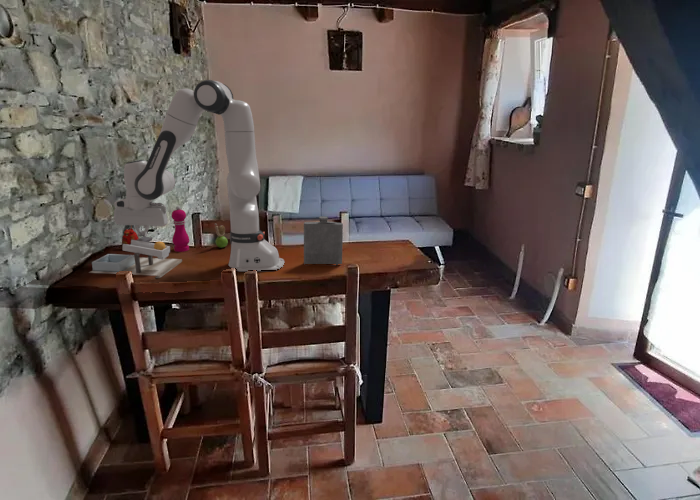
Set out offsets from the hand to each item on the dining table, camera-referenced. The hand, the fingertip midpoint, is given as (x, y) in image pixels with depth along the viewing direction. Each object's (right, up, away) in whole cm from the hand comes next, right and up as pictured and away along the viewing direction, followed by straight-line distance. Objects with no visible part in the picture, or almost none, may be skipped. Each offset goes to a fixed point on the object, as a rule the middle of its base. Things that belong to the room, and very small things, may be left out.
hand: (143, 236), depth 179 cm
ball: (+11, -4, -10) cm, 15 cm away
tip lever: (+5, -6, -4) cm, 9 cm away
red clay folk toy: (-14, -6, +20) cm, 25 cm away
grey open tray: (-8, -12, -6) cm, 16 cm away
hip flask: (+72, -12, +8) cm, 73 cm away
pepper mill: (+8, -6, +21) cm, 23 cm away
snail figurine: (+24, -5, +26) cm, 36 cm away
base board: (0, -13, -4) cm, 13 cm away
